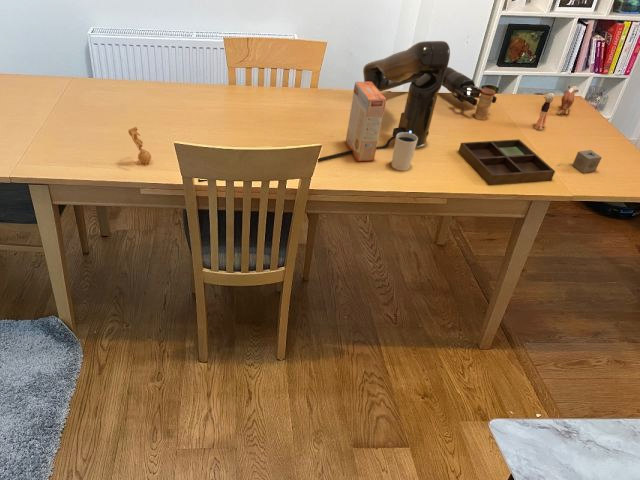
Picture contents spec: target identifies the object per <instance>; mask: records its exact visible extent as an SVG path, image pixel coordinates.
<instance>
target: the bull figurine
mask: <svg viewBox="0 0 640 480" xmlns="http://www.w3.org/2000/svg"><path fill="white" fill-rule="evenodd" d="M567 87H568V89H567V90H566V91H564V93H563V95H562V97H561V103H560V105H559V110H558V112H557V115H561V112H562V111H563V109H564V110H565V112H564V115H568V113H569V112H568V111H570V107H571V106H573V104H574V101H575V94H577V93H578V92H579V89H578V87H577V86H575V85H573V86H571V85H568V86H567Z"/></svg>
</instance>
